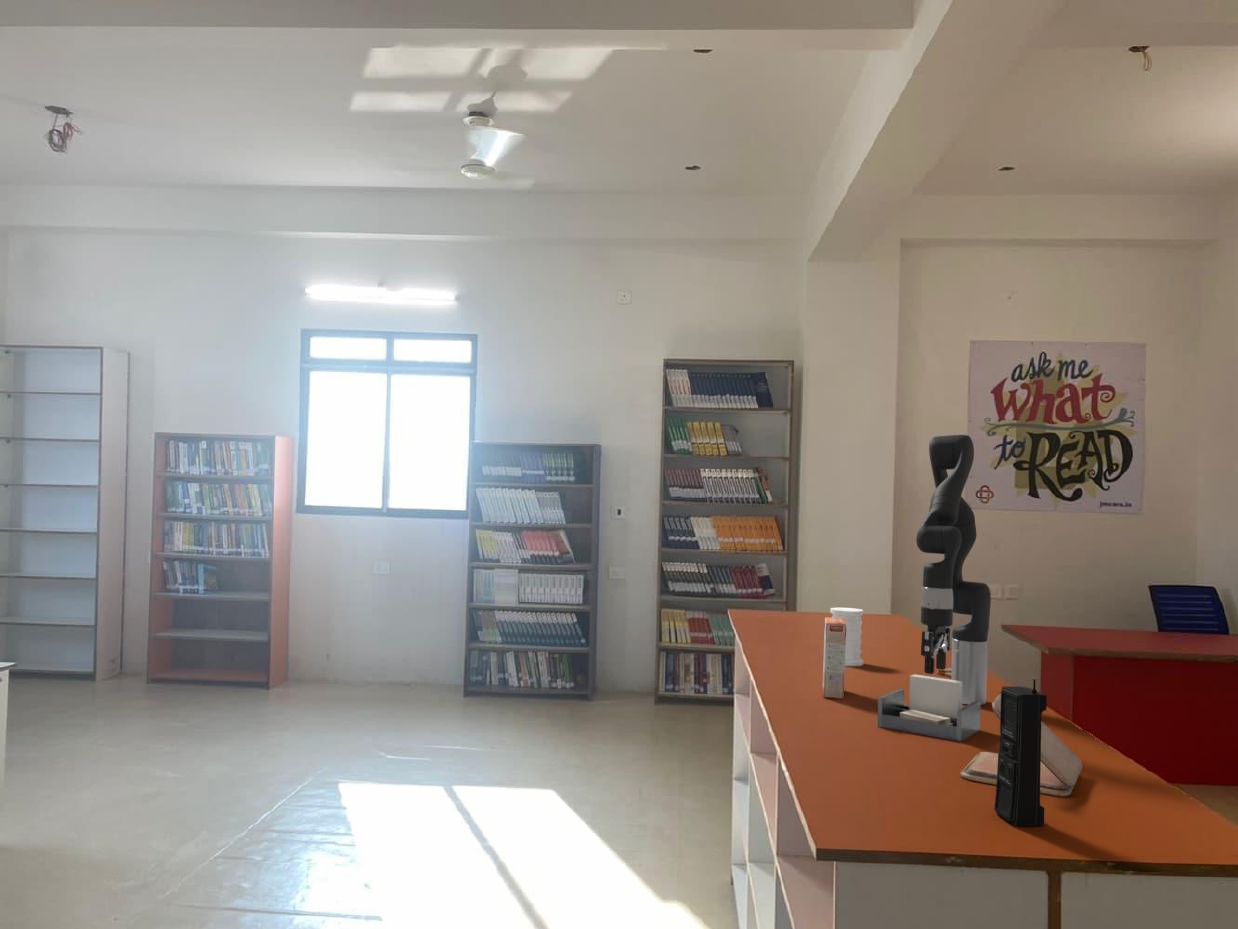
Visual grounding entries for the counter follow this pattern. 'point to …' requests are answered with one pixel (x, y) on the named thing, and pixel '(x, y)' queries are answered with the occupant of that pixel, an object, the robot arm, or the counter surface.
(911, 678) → the tall board
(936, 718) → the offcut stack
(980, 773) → the case
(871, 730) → the counter surface
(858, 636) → the decorative container
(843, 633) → the cracker box
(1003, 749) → the portable radio
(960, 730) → the rack
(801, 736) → the counter surface
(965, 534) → the robot arm
